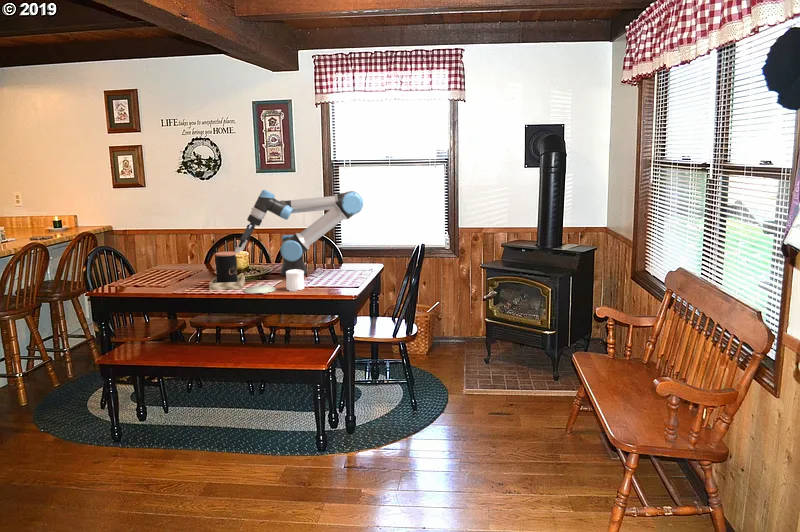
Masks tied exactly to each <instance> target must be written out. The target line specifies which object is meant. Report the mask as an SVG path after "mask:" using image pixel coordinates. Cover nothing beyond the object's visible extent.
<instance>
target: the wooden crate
mask: <svg viewBox="0 0 800 532" xmlns="http://www.w3.org/2000/svg"><path fill="white" fill-rule="evenodd" d="M237 279H238V282H227V283H217V276H216V277H213V278H212V279H211V280H210V282H209V283H208V287H209V291H221V290H222V289H229V290H242V289H243V288H242V287H244V285H245V284H246V278H245V276H237ZM222 291H223V290H222Z"/></svg>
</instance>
